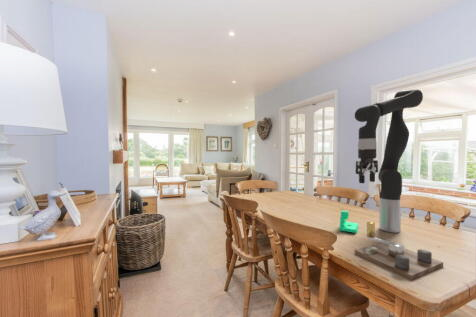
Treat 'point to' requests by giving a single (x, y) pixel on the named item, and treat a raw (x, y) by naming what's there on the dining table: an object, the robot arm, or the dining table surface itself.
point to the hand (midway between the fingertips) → (367, 182)
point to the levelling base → (391, 261)
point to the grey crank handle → (393, 247)
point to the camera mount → (347, 223)
